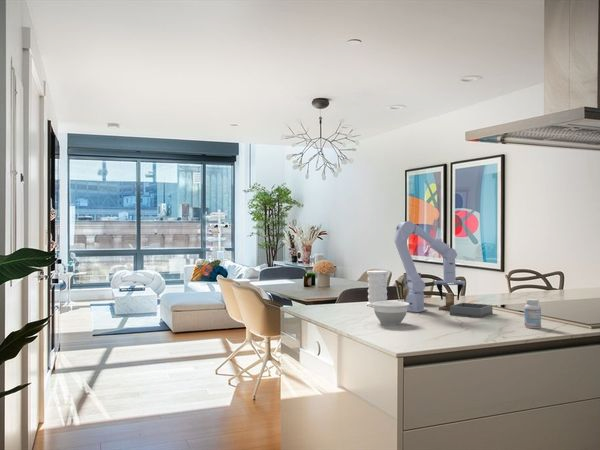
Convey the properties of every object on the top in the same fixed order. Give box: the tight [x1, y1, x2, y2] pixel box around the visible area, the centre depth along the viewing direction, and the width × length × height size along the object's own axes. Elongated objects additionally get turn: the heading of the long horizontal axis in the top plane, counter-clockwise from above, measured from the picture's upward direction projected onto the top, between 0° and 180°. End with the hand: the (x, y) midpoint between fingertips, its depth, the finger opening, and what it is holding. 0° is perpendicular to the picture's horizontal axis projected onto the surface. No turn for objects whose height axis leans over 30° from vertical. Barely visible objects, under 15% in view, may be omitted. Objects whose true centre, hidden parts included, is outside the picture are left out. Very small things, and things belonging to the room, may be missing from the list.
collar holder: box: [438, 304, 450, 312], centre depth 271 cm, size 8×8×2 cm
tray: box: [449, 302, 494, 319], centre depth 256 cm, size 15×15×4 cm
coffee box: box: [403, 272, 422, 302], centre depth 298 cm, size 9×6×16 cm
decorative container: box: [366, 270, 389, 307], centre depth 289 cm, size 12×12×18 cm
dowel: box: [445, 292, 455, 307], centre depth 271 cm, size 4×4×8 cm
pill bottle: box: [523, 298, 542, 330], centre depth 220 cm, size 6×6×11 cm
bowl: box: [372, 300, 409, 326], centre depth 234 cm, size 16×16×9 cm
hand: (450, 299), depth 271 cm, fingers open, 7 cm apart
